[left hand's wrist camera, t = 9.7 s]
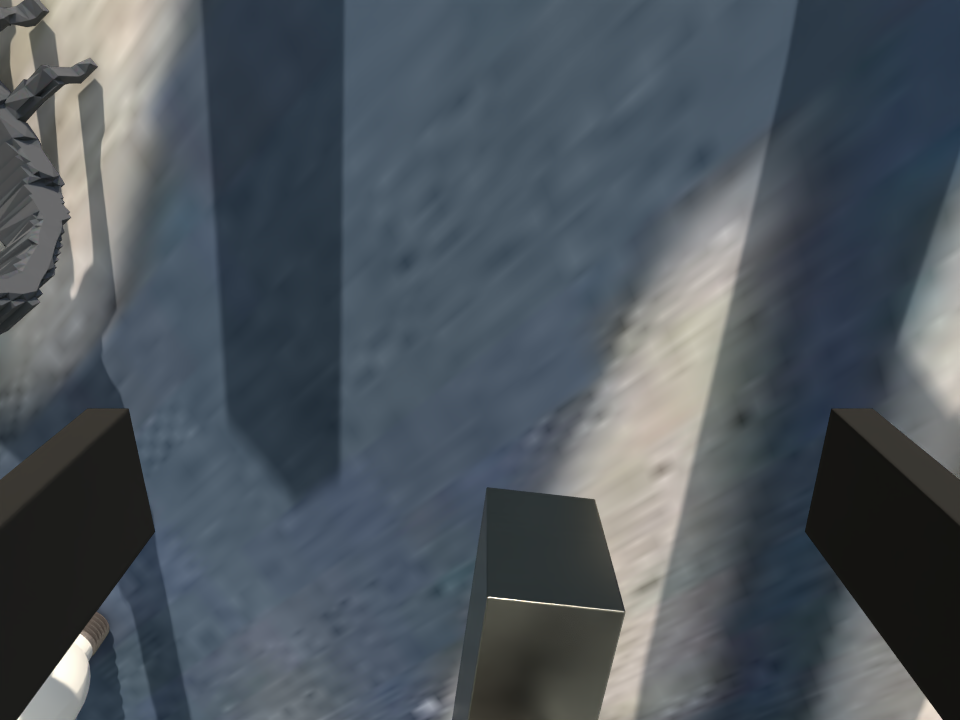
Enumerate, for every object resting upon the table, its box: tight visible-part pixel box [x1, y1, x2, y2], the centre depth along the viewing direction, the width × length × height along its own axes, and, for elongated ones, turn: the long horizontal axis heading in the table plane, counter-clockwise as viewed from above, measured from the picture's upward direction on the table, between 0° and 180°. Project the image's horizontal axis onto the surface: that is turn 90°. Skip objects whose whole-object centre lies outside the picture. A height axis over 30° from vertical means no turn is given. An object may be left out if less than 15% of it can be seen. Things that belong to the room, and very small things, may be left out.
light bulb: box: [17, 612, 109, 720], centre depth 48 cm, size 7×7×11 cm
